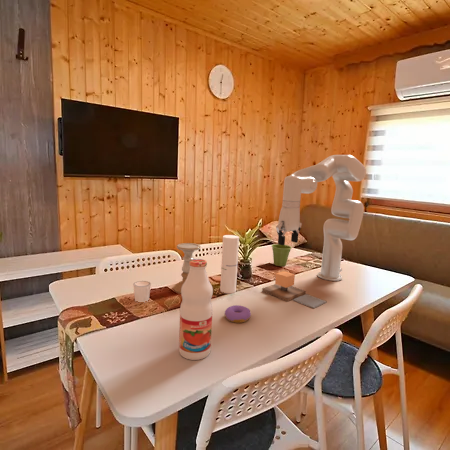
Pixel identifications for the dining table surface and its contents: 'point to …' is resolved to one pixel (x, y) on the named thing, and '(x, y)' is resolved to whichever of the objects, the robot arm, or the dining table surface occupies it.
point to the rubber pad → (309, 301)
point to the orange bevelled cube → (285, 279)
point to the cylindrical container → (229, 263)
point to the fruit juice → (196, 313)
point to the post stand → (284, 292)
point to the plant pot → (280, 254)
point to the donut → (237, 314)
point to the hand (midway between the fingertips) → (287, 243)
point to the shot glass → (142, 291)
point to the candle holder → (185, 262)
